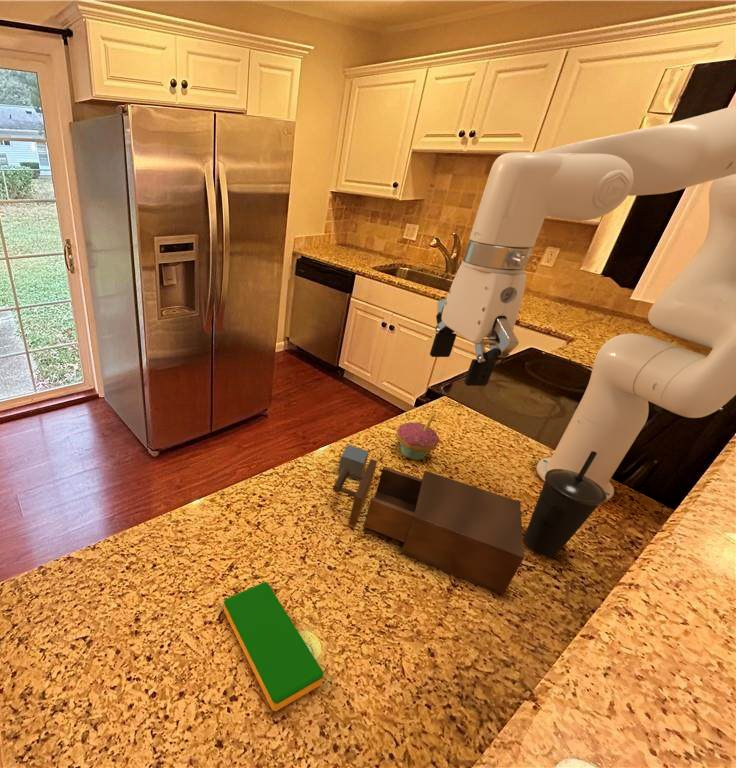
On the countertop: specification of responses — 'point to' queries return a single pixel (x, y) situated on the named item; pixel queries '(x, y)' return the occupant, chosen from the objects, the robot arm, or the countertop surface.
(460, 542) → the cabinet
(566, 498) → the drinking cup
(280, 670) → the dish sponge
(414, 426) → the cupcake
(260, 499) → the countertop surface
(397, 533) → the drawer
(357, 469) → the block
